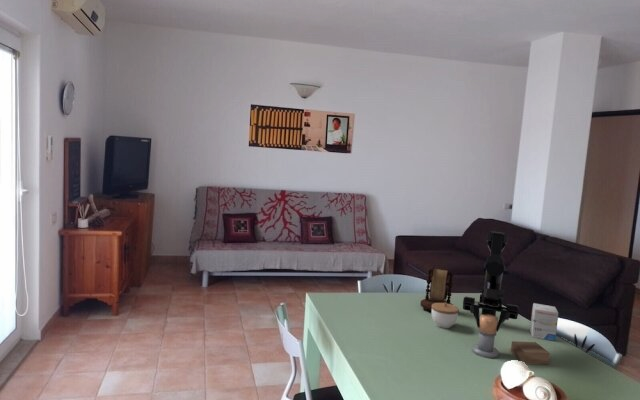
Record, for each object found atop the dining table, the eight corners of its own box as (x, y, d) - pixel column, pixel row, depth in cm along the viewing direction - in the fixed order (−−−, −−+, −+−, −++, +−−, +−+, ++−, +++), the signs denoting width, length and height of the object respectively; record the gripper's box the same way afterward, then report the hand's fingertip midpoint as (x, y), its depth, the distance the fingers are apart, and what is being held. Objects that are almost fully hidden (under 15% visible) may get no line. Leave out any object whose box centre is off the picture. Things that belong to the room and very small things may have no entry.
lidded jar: (458, 332, 180) (460, 309, 179) (430, 328, 182) (432, 305, 181) (455, 322, 191) (458, 300, 190) (429, 318, 193) (431, 297, 192)
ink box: (552, 333, 186) (555, 306, 185) (555, 341, 178) (559, 312, 177) (529, 329, 189) (532, 302, 187) (531, 337, 181) (535, 308, 179)
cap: (479, 326, 166) (480, 312, 165) (496, 329, 163) (498, 316, 163) (477, 333, 158) (479, 319, 158) (496, 337, 156) (497, 323, 156)
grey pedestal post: (478, 344, 169) (481, 324, 168) (502, 353, 163) (505, 332, 162) (467, 351, 163) (469, 329, 162) (491, 360, 156) (494, 338, 155)
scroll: (417, 311, 201) (421, 266, 199) (423, 301, 215) (427, 260, 213) (451, 317, 196) (456, 272, 194) (455, 308, 209) (459, 265, 207)
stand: (510, 351, 165) (511, 341, 164) (534, 352, 165) (535, 342, 165) (523, 363, 156) (525, 352, 155) (548, 364, 157) (550, 353, 156)
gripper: (466, 274, 167) (460, 313, 158) (521, 283, 160) (518, 324, 151) (465, 290, 175) (460, 327, 166) (518, 299, 168) (515, 338, 159)
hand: (487, 329), depth 160 cm, fingers closed on cap, 6 cm apart
